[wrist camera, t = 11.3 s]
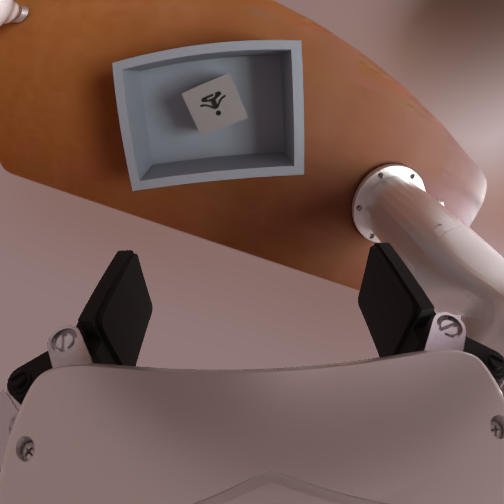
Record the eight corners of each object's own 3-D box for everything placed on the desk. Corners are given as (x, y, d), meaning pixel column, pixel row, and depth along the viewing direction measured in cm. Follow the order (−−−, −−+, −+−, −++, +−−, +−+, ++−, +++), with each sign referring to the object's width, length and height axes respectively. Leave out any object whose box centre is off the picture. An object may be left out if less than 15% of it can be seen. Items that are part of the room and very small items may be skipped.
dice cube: (229, 74, 27) (229, 72, 23) (246, 112, 30) (248, 117, 26) (188, 92, 28) (181, 93, 24) (205, 129, 31) (201, 137, 27)
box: (287, 48, 27) (301, 40, 21) (291, 157, 34) (303, 174, 29) (134, 65, 26) (112, 63, 20) (149, 171, 34) (132, 191, 28)
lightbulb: (33, 31, 20) (-18, 29, 11) (5, 36, 18) (-44, 39, 9) (46, -8, 17) (-1, -19, 7) (16, -1, 15) (-30, -6, 6)
